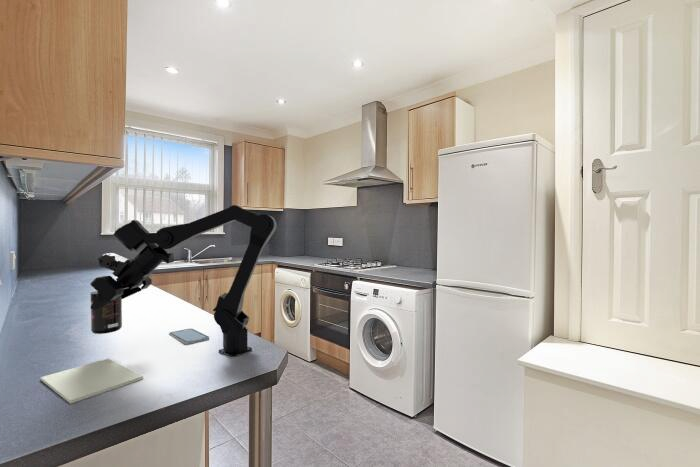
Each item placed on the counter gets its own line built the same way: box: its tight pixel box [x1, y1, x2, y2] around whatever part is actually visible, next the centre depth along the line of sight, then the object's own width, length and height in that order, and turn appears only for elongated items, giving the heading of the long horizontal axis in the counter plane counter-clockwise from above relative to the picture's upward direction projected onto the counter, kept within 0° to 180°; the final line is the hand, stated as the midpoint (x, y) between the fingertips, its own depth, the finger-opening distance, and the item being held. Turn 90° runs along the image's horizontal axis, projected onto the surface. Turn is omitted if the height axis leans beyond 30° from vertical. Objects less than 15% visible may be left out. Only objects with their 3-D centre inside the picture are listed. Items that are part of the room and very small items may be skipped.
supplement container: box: [89, 290, 123, 335], centre depth 88 cm, size 7×7×10 cm
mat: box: [40, 358, 144, 405], centre depth 74 cm, size 18×13×1 cm
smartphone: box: [168, 328, 210, 345], centre depth 104 cm, size 7×1×15 cm
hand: (101, 305), depth 88 cm, fingers closed on supplement container, 7 cm apart
